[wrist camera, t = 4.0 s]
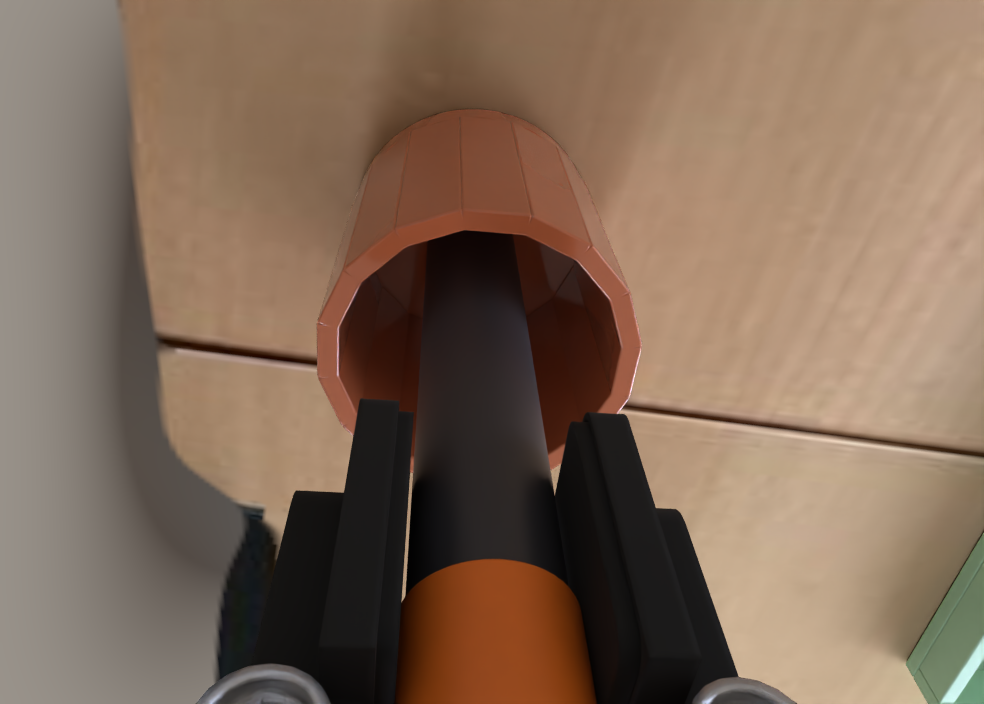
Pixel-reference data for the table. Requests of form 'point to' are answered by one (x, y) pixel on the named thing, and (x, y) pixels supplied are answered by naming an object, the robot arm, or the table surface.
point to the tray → (955, 641)
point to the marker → (484, 501)
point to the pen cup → (487, 208)
